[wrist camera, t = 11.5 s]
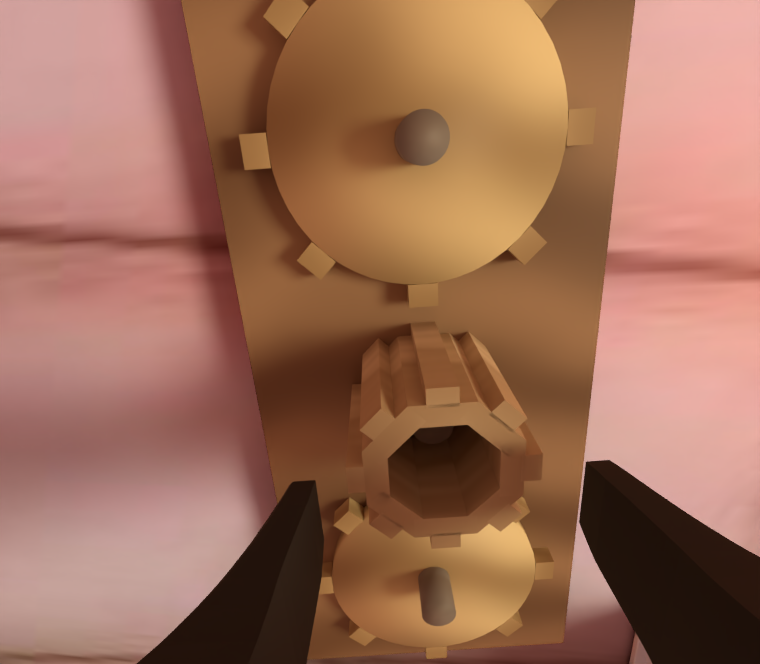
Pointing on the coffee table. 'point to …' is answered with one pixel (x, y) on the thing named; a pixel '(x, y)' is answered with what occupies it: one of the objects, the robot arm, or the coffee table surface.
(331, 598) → the gear board
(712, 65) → the coffee table surface
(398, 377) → the maple gear
